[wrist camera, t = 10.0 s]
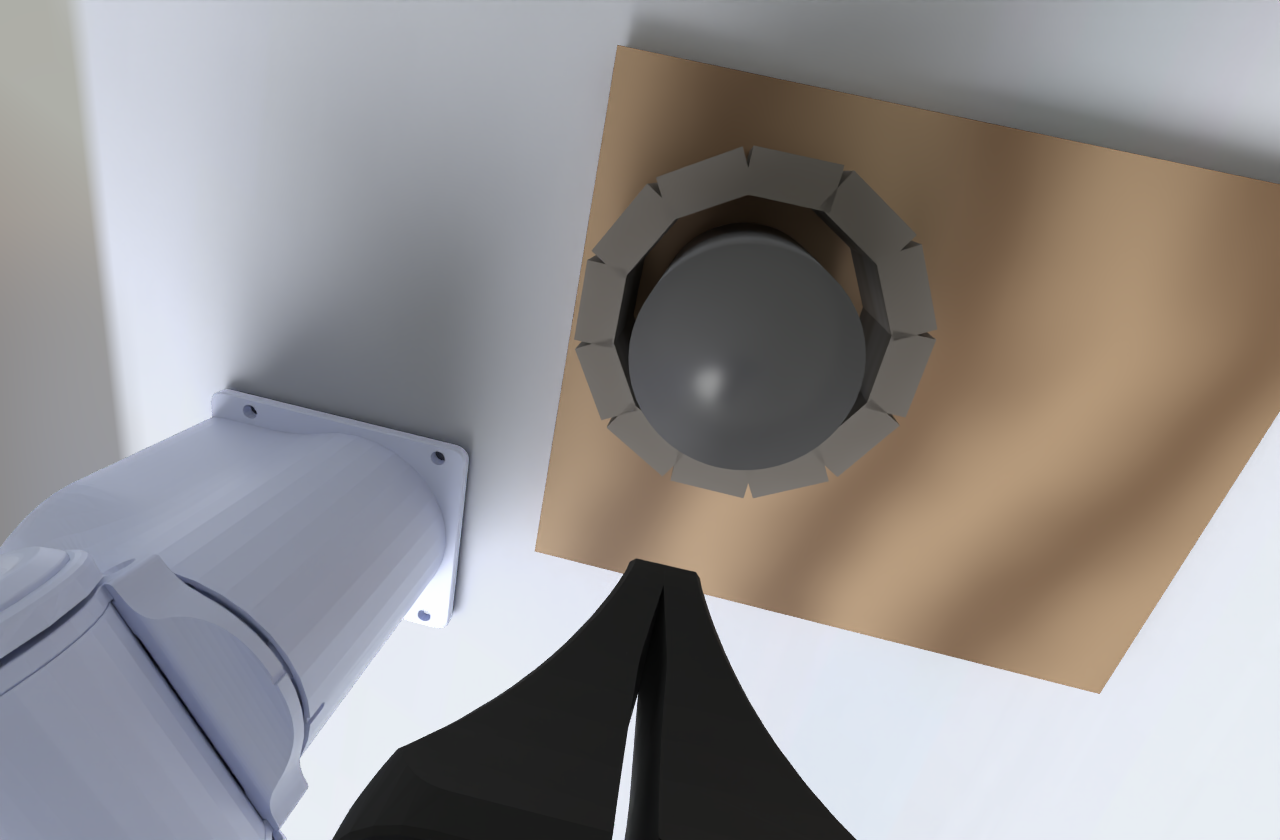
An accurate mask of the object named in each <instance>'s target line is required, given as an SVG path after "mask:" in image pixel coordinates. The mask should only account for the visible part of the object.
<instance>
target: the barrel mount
mask: <svg viewBox="0 0 1280 840" xmlns="http://www.w3.org/2000/svg"><path fill="white" fill-rule="evenodd" d="M744 222H748V223H758V224H762V225H766V226H770V227H773V228H775V229H778V230H780V231H782V232H784V233H785V234H787V235H789V236H790V237H792V238H793V239H794V240H796V241H797V242H798V243H799V244H800V245H801V246H802V247H803V248H804V249H805V250H806V251H807V252H808V253H809V254H810V255H811V256H812V257H813V258H814V259H815V260H816V261H817V262H818V263H819V264H820V265H821V266H822V267H823V268H824V269H825V270H826V271H827V272H828V273H829V274H830V275H831V276H832V277H833V278H834V279H835V280H836V281H837V282H838V283H839V284H840V285H841V286H842V288H843V289H844V290H845V292H846V293H847V295H848V296H849V297H850V299H851V301H852V303H853V305H854V307H855V309H856V310H857V313H858V316H859V318H860V321H861V324H862V328H863V333H864V338H865V347H866V362H865V372H864V377H863V381H862V385H861V388H860V391H859V394H858V396H857V399H856V401H855V403H854V405H853V407H852V409H851V410H850V412H849V414H848V415H847V417H846V418H845V420H844V421H843V422H842V424H841V425H840V426H839V427H838V429H837V430H836V431H835V432H834V433H833V434H832V435H831V436H830V437H829V438H828V439H827V440H825V441H824V442H823V443H822V444H821V445H819V446H818V447H817V448H815V449H813V450H812V451H810V452H809V453H807V454H806V455H804V456H801V457H799V458H797V459H795V460H793V461H791V462H788V463H785V464H782V465H779V466H775V467H770V468H766V469H758V470H731V469H724V468H719V467H715V466H711V465H707V464H704V463H702V462H699V461H697V460H694V459H692V458H690V457H688V456H687V455H685V454H683V453H681V452H680V451H678V450H677V449H675V448H674V447H673V446H671V445H670V444H669V443H667V442H666V441H665V440H664V439H663V438H662V437H661V436H660V435H659V434H658V433H657V432H656V431H655V429H654V428H653V427H652V426H651V425H650V423H649V422H648V420H647V419H646V417H645V416H644V414H643V413H642V411H641V409H640V406H639V404H638V402H637V400H636V397H635V394H634V391H633V388H632V385H631V379H630V374H629V358H628V357H629V345H630V339H631V335H632V330H633V327H634V324H635V322H636V319H637V316H638V314H639V312H640V310H641V308H642V306H643V304H644V302H645V301H646V299H647V298H648V296H649V295H650V293H651V292H652V290H653V289H654V287H655V286H656V285H657V283H658V282H659V280H660V279H661V277H662V276H663V274H664V273H665V271H666V270H667V268H668V267H669V266H670V264H671V263H672V261H673V260H674V258H675V257H676V256H677V254H678V253H679V252H680V251H681V250H682V249H683V248H684V247H685V246H686V245H687V244H688V243H689V242H691V241H692V240H693V239H694V238H696V237H697V236H699V235H701V234H702V233H704V232H706V231H708V230H710V229H713V228H715V227H719V226H722V225H726V224H731V223H744ZM1279 412H1280V184H1276V183H1271V182H1266V181H1261V180H1257V179H1252V178H1247V177H1242V176H1238V175H1233V174H1228V173H1223V172H1219V171H1214V170H1209V169H1204V168H1200V167H1195V166H1190V165H1185V164H1181V163H1176V162H1171V161H1166V160H1162V159H1157V158H1152V157H1147V156H1143V155H1138V154H1133V153H1128V152H1124V151H1119V150H1114V149H1109V148H1105V147H1100V146H1095V145H1090V144H1086V143H1081V142H1076V141H1071V140H1067V139H1062V138H1057V137H1052V136H1048V135H1043V134H1038V133H1033V132H1029V131H1024V130H1019V129H1014V128H1010V127H1005V126H1000V125H995V124H991V123H986V122H981V121H976V120H972V119H967V118H962V117H957V116H953V115H948V114H943V113H938V112H934V111H929V110H924V109H919V108H915V107H910V106H905V105H900V104H896V103H891V102H886V101H881V100H877V99H872V98H867V97H862V96H858V95H853V94H848V93H843V92H839V91H834V90H829V89H824V88H820V87H815V86H810V85H805V84H801V83H796V82H791V81H786V80H782V79H777V78H772V77H767V76H763V75H758V74H753V73H748V72H744V71H739V70H734V69H729V68H725V67H720V66H715V65H710V64H706V63H701V62H696V61H691V60H687V59H682V58H677V57H672V56H668V55H663V54H658V53H653V52H649V51H644V50H639V49H634V48H630V47H625V46H620V45H617V51H616V57H615V63H614V70H613V76H612V82H611V88H610V94H609V100H608V106H607V112H606V118H605V125H604V131H603V137H602V143H601V149H600V155H599V161H598V167H597V174H596V180H595V186H594V192H593V198H592V204H591V210H590V216H589V222H588V229H587V235H586V241H585V247H584V253H583V259H582V265H581V271H580V278H579V284H578V290H577V296H576V302H575V308H574V314H573V320H572V326H571V333H570V339H569V345H568V351H567V357H566V363H565V369H564V375H563V382H562V388H561V394H560V400H559V406H558V412H557V418H556V424H555V430H554V437H553V443H552V449H551V455H550V461H549V467H548V473H547V479H546V486H545V492H544V498H543V504H542V510H541V516H540V522H539V528H538V534H537V541H536V547H535V551H536V552H540V553H544V554H548V555H552V556H556V557H560V558H564V559H567V560H571V561H575V562H579V563H583V564H587V565H591V566H595V567H599V568H603V569H607V570H611V571H615V572H619V573H623V574H624V572H625V571H626V569H627V567H628V564H629V562H630V561H632V560H634V559H636V558H637V559H642V560H646V561H650V562H655V563H659V564H663V565H668V566H672V567H676V568H681V569H685V570H689V571H694V572H696V573H697V574H698V576H699V577H700V581H701V586H702V590H703V594H706V595H710V596H714V597H718V598H722V599H726V600H730V601H734V602H738V603H742V604H746V605H750V606H754V607H758V608H762V609H766V610H770V611H773V612H777V613H781V614H785V615H789V616H793V617H797V618H801V619H805V620H809V621H813V622H817V623H821V624H825V625H829V626H833V627H837V628H841V629H845V630H849V631H853V632H857V633H861V634H865V635H869V636H873V637H876V638H880V639H884V640H888V641H892V642H896V643H900V644H904V645H908V646H912V647H916V648H920V649H924V650H928V651H932V652H936V653H940V654H944V655H948V656H952V657H956V658H960V659H964V660H968V661H972V662H976V663H979V664H983V665H987V666H991V667H995V668H999V669H1003V670H1007V671H1011V672H1015V673H1019V674H1023V675H1027V676H1031V677H1035V678H1039V679H1043V680H1047V681H1051V682H1055V683H1059V684H1063V685H1067V686H1071V687H1075V688H1079V689H1082V690H1086V691H1090V692H1094V693H1098V694H1100V692H1101V691H1102V689H1103V688H1104V686H1105V684H1106V683H1107V681H1108V680H1109V678H1110V677H1111V675H1112V673H1113V672H1114V670H1115V669H1116V667H1117V666H1118V664H1119V662H1120V661H1121V659H1122V658H1123V656H1124V655H1125V653H1126V652H1127V650H1128V648H1129V647H1130V645H1131V644H1132V642H1133V641H1134V639H1135V637H1136V636H1137V634H1138V633H1139V631H1140V630H1141V628H1142V626H1143V625H1144V623H1145V622H1146V620H1147V619H1148V617H1149V615H1150V614H1151V612H1152V611H1153V609H1154V608H1155V606H1156V604H1157V603H1158V601H1159V600H1160V598H1161V597H1162V595H1163V593H1164V592H1165V590H1166V589H1167V587H1168V586H1169V584H1170V582H1171V581H1172V579H1173V578H1174V576H1175V575H1176V573H1177V572H1178V570H1179V568H1180V567H1181V565H1182V564H1183V562H1184V561H1185V559H1186V557H1187V556H1188V554H1189V553H1190V551H1191V550H1192V548H1193V546H1194V545H1195V543H1196V542H1197V540H1198V539H1199V537H1200V535H1201V534H1202V532H1203V531H1204V529H1205V528H1206V526H1207V524H1208V523H1209V521H1210V520H1211V518H1212V517H1213V515H1214V513H1215V512H1216V510H1217V509H1218V507H1219V506H1220V504H1221V502H1222V501H1223V499H1224V498H1225V496H1226V495H1227V493H1228V492H1229V490H1230V488H1231V487H1232V485H1233V484H1234V482H1235V481H1236V479H1237V477H1238V476H1239V474H1240V473H1241V471H1242V470H1243V468H1244V466H1245V465H1246V463H1247V462H1248V460H1249V459H1250V457H1251V455H1252V454H1253V452H1254V451H1255V449H1256V448H1257V446H1258V444H1259V443H1260V441H1261V440H1262V438H1263V437H1264V435H1265V433H1266V432H1267V430H1268V429H1269V427H1270V426H1271V424H1272V422H1273V421H1274V419H1275V418H1276V416H1277V415H1278V413H1279Z"/></svg>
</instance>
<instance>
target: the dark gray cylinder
mask: <svg viewBox="0 0 1280 840" xmlns="http://www.w3.org/2000/svg"><path fill="white" fill-rule="evenodd" d="M628 358H629V374H630V379H631V385H632V388H633V391H634V394H635V397H636V400H637V402H638V404H639V406H640V409H641V411H642V413H643V414H644V416H645V417H646V419H647V420H648V422H649V423H650V425H651V426H652V427H653V428H654V429H655V431H656V432H657V433H658V434H659V435H660V436H661V437H662V438H663V439H664V440H665V441H666V442H667V443H669V444H670V445H671V446H673V447H674V448H675V449H677V450H678V451H680V452H681V453H683V454H685V455H687V456H688V457H690V458H692V459H694V460H697V461H699V462H702V463H704V464H707V465H711V466H715V467H719V468H724V469H731V470H758V469H766V468H770V467H775V466H779V465H782V464H785V463H788V462H791V461H793V460H795V459H797V458H799V457H801V456H804V455H806V454H807V453H809V452H810V451H812V450H813V449H815V448H817V447H818V446H819V445H821V444H822V443H823V442H824V441H825V440H827V439H828V438H829V437H830V436H831V435H832V434H833V433H834V432H835V431H836V430H837V429H838V427H839V426H840V425H841V424H842V422H843V421H844V420H845V418H846V417H847V415H848V414H849V412H850V410H851V409H852V407H853V405H854V403H855V401H856V399H857V396H858V394H859V391H860V388H861V385H862V381H863V377H864V372H865V362H866V347H865V338H864V333H863V328H862V324H861V321H860V318H859V316H858V313H857V310H856V309H855V307H854V305H853V303H852V301H851V299H850V297H849V296H848V295H847V293H846V292H845V290H844V289H843V288H842V286H841V285H840V284H839V283H838V282H837V281H836V280H835V279H834V278H833V277H832V276H831V275H830V274H829V273H828V272H827V271H826V270H825V269H824V268H823V267H822V266H821V265H820V264H819V263H818V262H817V261H816V260H815V259H814V258H813V257H812V256H811V255H810V254H809V253H808V252H807V251H806V250H805V249H804V248H803V247H802V246H801V245H800V244H799V243H798V242H797V241H796V240H794V239H793V238H792V237H790V236H789V235H787V234H785V233H784V232H782V231H780V230H778V229H775V228H773V227H770V226H766V225H762V224H758V223H748V222H744V223H731V224H726V225H722V226H719V227H715V228H713V229H710V230H708V231H706V232H704V233H702V234H701V235H699V236H697V237H696V238H694V239H693V240H692V241H691V242H689V243H688V244H687V245H686V246H685V247H684V248H683V249H682V250H681V251H680V252H679V253H678V254H677V256H676V257H675V258H674V260H673V261H672V263H671V264H670V266H669V267H668V268H667V270H666V271H665V273H664V274H663V276H662V277H661V279H660V280H659V282H658V283H657V285H656V286H655V287H654V289H653V290H652V292H651V293H650V295H649V296H648V298H647V299H646V301H645V302H644V304H643V306H642V308H641V310H640V312H639V314H638V316H637V319H636V322H635V324H634V327H633V330H632V335H631V339H630V345H629V357H628Z"/></svg>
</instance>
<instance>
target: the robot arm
mask: <svg viewBox="0 0 1280 840" xmlns="http://www.w3.org/2000/svg"><path fill="white" fill-rule="evenodd" d="M211 405H212V418H210V419H207V420H205V421H203V422H201V423H199V424H197V425H195V426H192V427H190V428H188V429H186V430H184V431H182V432H180V433H178V434H175V435H173V436H171V437H169V438H167V439H165V440H163V441H160V442H158V443H156V444H154V445H152V446H150V447H148V448H146V449H143V450H141V451H139V452H137V453H135V454H133V455H131V456H128V457H126V458H124V459H122V460H120V461H118V462H116V463H114V464H112V465H109V466H107V467H105V468H103V469H101V470H99V471H96V472H94V473H92V474H90V475H88V476H86V477H84V478H82V479H79V480H78V481H75V482H73V483H71V484H69V485H67V486H66V487H64V488H62V489H60V490H59V491H57V492H56V493H54V494H53V495H52V496H50V497H48V498H47V499H46V500H45V501H43V502H42V503H40V504H39V506H37V507H36V508H35V509H34V510H33V511H32V512H31V513H29V514H28V515H27V516H26V517H25V519H23V520H22V521H21V523H20V524H19V525H18V526H17V527H16V528H15V529H14V531H13V532H12V533H11V534H10V535H9V536H8V538H7V539H6V540H5V542H4V543H3V545H2V546H1V548H0V840H287V839H286V837H285V836H284V834H283V833H282V832H281V831H280V830H279V829H280V828H281V826H282V825H283V824H284V822H285V821H286V819H287V818H288V816H289V815H290V813H291V812H292V810H293V809H294V808H295V806H296V805H297V803H298V802H299V800H300V799H301V797H302V796H303V795H304V793H305V792H306V790H307V789H308V784H307V782H306V780H305V778H304V776H303V774H302V771H301V768H300V757H301V756H302V754H303V753H304V752H305V750H306V749H307V748H308V746H309V745H310V744H311V742H312V741H313V740H314V738H315V737H316V736H317V734H318V733H319V731H320V730H321V729H322V727H323V726H324V725H325V723H326V722H327V721H328V719H329V718H330V717H331V715H332V714H333V712H334V711H335V710H336V708H337V707H338V706H339V704H340V703H341V702H342V700H343V699H344V698H345V696H346V695H347V694H348V692H349V691H350V689H351V688H352V687H353V685H354V684H355V683H356V681H357V680H358V679H359V677H360V676H361V675H362V673H363V672H364V671H365V669H366V668H367V666H368V665H369V664H370V662H371V661H372V660H373V658H374V657H375V656H376V654H377V653H378V652H379V650H380V649H381V647H382V646H383V645H384V643H385V642H386V641H387V639H388V638H389V637H390V635H391V634H392V633H393V631H394V630H395V629H396V627H397V626H398V624H399V623H400V622H401V620H402V619H404V620H408V621H411V622H415V623H419V624H423V625H427V626H431V627H434V628H443V627H445V626H447V625H448V623H449V622H450V620H451V617H452V612H453V602H454V593H455V584H456V575H457V566H458V556H459V547H460V538H461V529H462V520H463V510H464V501H465V492H466V483H467V474H468V464H469V457H468V454H467V452H466V451H465V450H464V449H463V448H462V447H460V446H458V445H454V444H450V443H446V442H442V441H438V440H434V439H430V438H426V437H422V436H418V435H414V434H410V433H406V432H401V431H397V430H393V429H389V428H385V427H381V426H377V425H373V424H369V423H365V422H361V421H357V420H353V419H348V418H344V417H340V416H336V415H332V414H328V413H324V412H320V411H316V410H312V409H308V408H304V407H300V406H296V405H291V404H287V403H283V402H279V401H275V400H271V399H267V398H263V397H259V396H255V395H251V394H247V393H243V392H239V391H234V390H230V389H224V390H222V391H219V392H217V393H215V394H214V395H213V396H212V400H211ZM251 406H253V407H254V408H255V410H256V412H257V414H255V413H254V412H253V411H252V410H251ZM435 452H440V453H442V454H443V455H444V457H445V460H440V459H438V457H437V456H436V453H435ZM423 610H425V611H427V612H428V613H429V614H430V615H429V614H426V613H424V611H423ZM637 695H638V702H637V714H636V726H635V739H634V752H633V765H632V777H631V790H630V803H629V811H628V820H627V828H626V834H625V840H856V839H855V838H854V837H853V836H852V835H851V834H850V833H849V832H848V831H847V830H846V829H845V828H844V826H843V825H842V824H841V823H840V822H839V821H838V820H837V819H836V818H835V817H834V816H833V815H832V814H831V813H830V811H829V810H828V809H827V808H826V807H825V806H824V804H823V803H822V802H821V801H820V800H819V799H818V798H817V796H816V795H815V794H814V793H813V792H812V791H811V789H810V788H809V787H808V786H807V785H806V783H805V782H804V781H803V780H802V778H801V777H800V776H799V774H798V773H797V772H796V770H795V769H794V768H793V766H792V765H791V764H790V762H789V761H788V760H787V758H786V757H785V756H784V754H783V753H782V752H781V750H780V749H779V748H778V746H777V745H776V743H775V742H774V740H773V739H772V737H771V736H770V734H769V733H768V731H767V730H766V728H765V727H764V725H763V723H762V722H761V720H760V718H759V717H758V715H757V714H756V712H755V710H754V709H753V707H752V705H751V703H750V702H749V700H748V698H747V696H746V694H745V693H744V691H743V689H742V687H741V685H740V683H739V681H738V679H737V677H736V675H735V673H734V671H733V669H732V667H731V665H730V663H729V660H728V658H727V656H726V654H725V651H724V649H723V647H722V644H721V642H720V639H719V637H718V634H717V632H716V629H715V627H714V624H713V621H712V619H711V616H710V613H709V610H708V607H707V604H706V601H705V597H704V594H703V590H702V586H701V581H700V577H699V576H698V574H697V573H696V572H694V571H689V570H685V569H681V568H676V567H672V566H668V565H663V564H659V563H655V562H650V561H646V560H642V559H637V558H636V559H634V560H632V561H630V562H629V564H628V567H627V569H626V571H625V572H624V574H623V576H622V577H621V579H620V581H619V582H618V584H617V585H616V586H615V588H614V589H613V590H612V592H611V593H610V595H609V596H608V597H607V598H606V600H605V601H604V602H603V603H602V604H601V606H600V607H599V608H598V609H597V610H596V612H595V613H594V614H593V615H592V616H591V617H590V619H589V620H588V621H587V622H586V623H585V624H584V625H583V626H582V627H581V628H580V629H579V630H578V631H577V632H576V633H575V634H574V635H573V636H572V637H571V638H570V639H569V640H568V641H567V642H566V643H565V644H564V645H563V646H562V647H561V648H560V649H559V650H557V651H556V652H555V653H554V654H553V655H552V656H551V657H549V658H548V659H547V660H546V661H545V662H544V663H542V664H541V665H540V666H539V667H537V668H536V669H535V670H534V671H532V672H531V673H530V674H528V675H527V676H526V677H524V678H523V679H522V680H520V681H519V682H518V683H516V684H515V685H514V686H512V687H511V688H509V689H508V690H506V691H505V692H503V693H502V694H500V695H499V696H497V697H496V698H494V699H492V700H491V701H489V702H487V703H486V704H484V705H482V706H481V707H479V708H477V709H476V710H474V711H472V712H471V713H469V714H467V715H466V716H464V717H462V718H461V719H459V720H457V721H455V722H453V723H451V724H450V725H448V726H446V727H444V728H441V729H439V730H437V731H435V732H433V733H431V734H429V735H427V736H425V737H423V738H421V739H418V740H416V741H414V742H412V743H410V744H408V745H406V746H403V747H401V748H399V749H397V750H396V752H395V753H394V754H393V755H392V756H391V757H390V758H389V760H388V761H387V762H386V763H385V764H384V765H383V767H382V768H381V769H380V770H379V771H378V772H377V774H376V775H375V776H374V778H373V779H372V780H371V781H370V783H369V784H368V785H367V787H366V788H365V789H364V791H363V792H362V793H361V795H360V796H359V797H358V799H357V800H356V801H355V803H354V804H353V806H352V807H351V809H350V810H349V812H348V814H347V815H346V817H345V819H344V820H343V822H342V824H341V825H340V827H339V829H338V830H337V832H336V834H335V836H334V837H333V839H332V840H612V835H613V829H614V821H615V814H616V806H617V799H618V792H619V785H620V778H621V771H622V764H623V758H624V751H625V745H626V738H627V731H628V726H629V723H630V719H631V716H632V712H633V709H634V705H635V702H636V698H637Z"/></svg>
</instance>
